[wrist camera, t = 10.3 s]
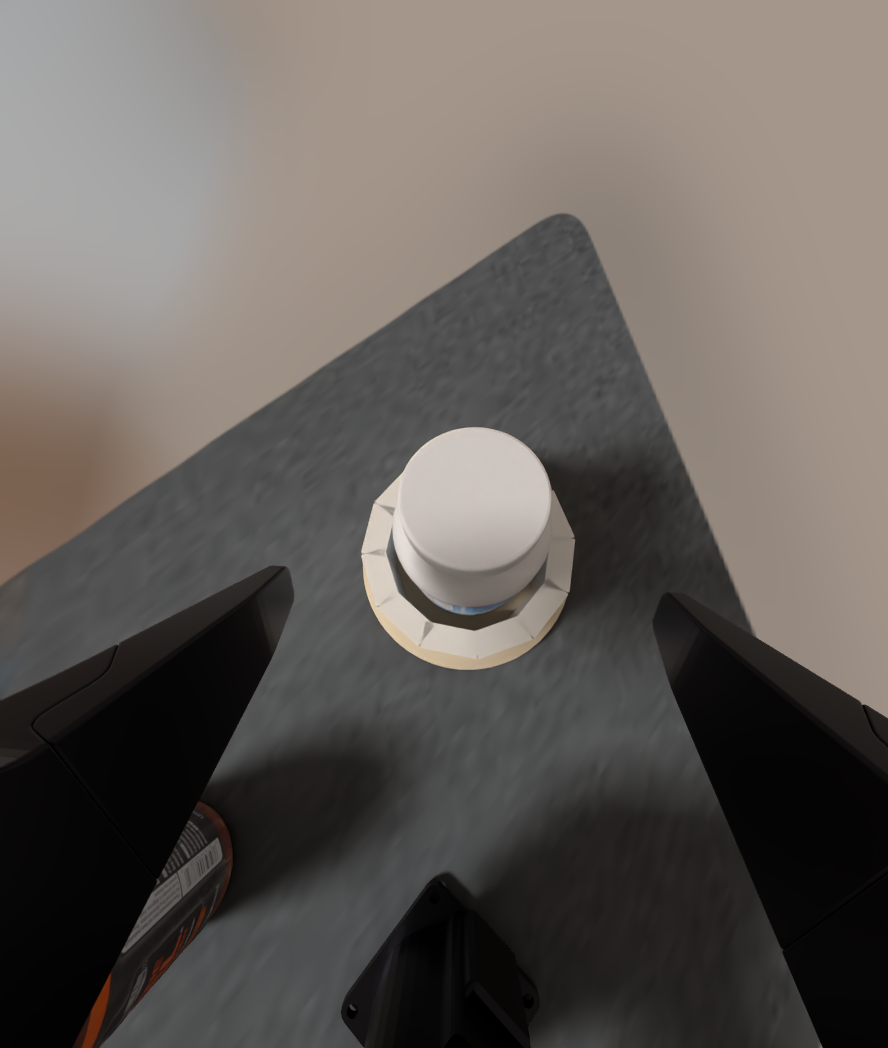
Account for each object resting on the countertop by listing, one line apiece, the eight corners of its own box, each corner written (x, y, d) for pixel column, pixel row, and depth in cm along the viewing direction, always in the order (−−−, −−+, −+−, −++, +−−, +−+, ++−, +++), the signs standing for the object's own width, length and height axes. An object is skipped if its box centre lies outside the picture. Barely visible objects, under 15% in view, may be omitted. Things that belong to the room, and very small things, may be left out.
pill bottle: (519, 513, 23) (574, 405, 12) (520, 619, 21) (586, 602, 10) (417, 510, 23) (383, 402, 12) (411, 614, 21) (364, 593, 11)
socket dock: (478, 717, 21) (484, 738, 16) (325, 572, 23) (296, 558, 19) (607, 551, 23) (641, 533, 19) (454, 435, 25) (454, 396, 21)
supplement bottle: (173, 969, 18) (-255, 1474, 7) (97, 872, 19) (-371, 1181, 8) (263, 852, 19) (13, 1134, 8) (186, 767, 20) (-122, 918, 10)
